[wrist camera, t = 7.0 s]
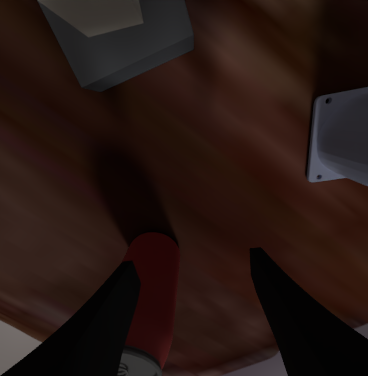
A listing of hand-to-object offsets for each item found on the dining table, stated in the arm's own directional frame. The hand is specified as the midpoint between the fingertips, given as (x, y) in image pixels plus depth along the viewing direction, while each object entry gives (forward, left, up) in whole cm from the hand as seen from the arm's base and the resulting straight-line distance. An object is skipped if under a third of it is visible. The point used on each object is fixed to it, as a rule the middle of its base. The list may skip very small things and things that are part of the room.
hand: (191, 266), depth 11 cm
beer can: (+6, +7, -10) cm, 14 cm away
